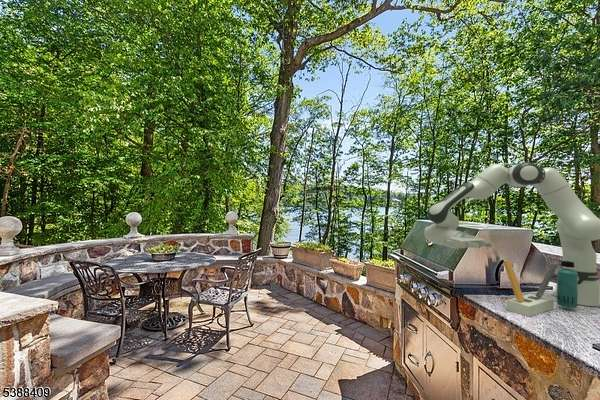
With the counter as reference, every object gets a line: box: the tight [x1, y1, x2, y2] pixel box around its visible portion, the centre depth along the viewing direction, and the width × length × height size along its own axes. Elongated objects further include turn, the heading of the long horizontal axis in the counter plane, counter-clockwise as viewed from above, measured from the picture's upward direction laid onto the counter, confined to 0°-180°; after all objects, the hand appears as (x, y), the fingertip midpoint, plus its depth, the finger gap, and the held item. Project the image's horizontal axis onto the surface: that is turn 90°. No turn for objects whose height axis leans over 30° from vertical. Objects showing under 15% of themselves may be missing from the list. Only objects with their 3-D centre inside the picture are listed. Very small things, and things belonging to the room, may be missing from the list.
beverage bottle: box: [556, 260, 578, 309], centre depth 119 cm, size 6×7×20 cm
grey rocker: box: [535, 262, 559, 297], centre depth 120 cm, size 3×1×16 cm, turn 118°
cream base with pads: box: [505, 292, 554, 318], centre depth 119 cm, size 20×8×4 cm, turn 118°
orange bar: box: [502, 260, 524, 301], centre depth 118 cm, size 3×1×16 cm, turn 118°
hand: (485, 246), depth 128 cm, fingers open, 8 cm apart
